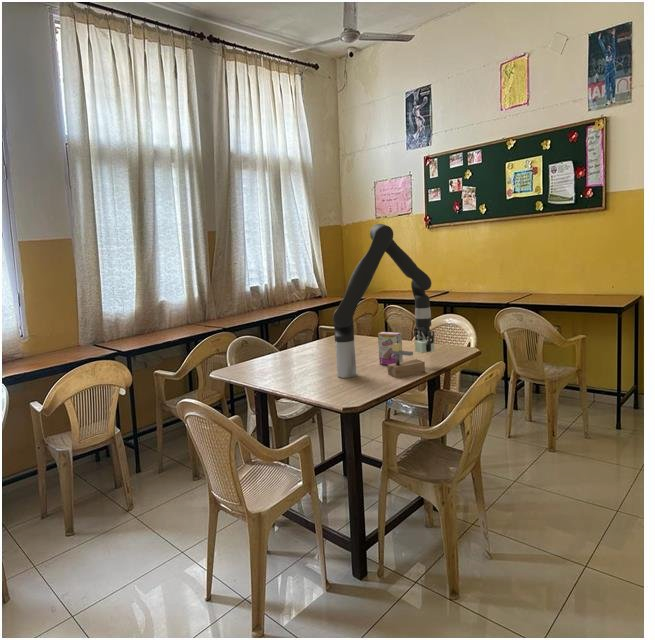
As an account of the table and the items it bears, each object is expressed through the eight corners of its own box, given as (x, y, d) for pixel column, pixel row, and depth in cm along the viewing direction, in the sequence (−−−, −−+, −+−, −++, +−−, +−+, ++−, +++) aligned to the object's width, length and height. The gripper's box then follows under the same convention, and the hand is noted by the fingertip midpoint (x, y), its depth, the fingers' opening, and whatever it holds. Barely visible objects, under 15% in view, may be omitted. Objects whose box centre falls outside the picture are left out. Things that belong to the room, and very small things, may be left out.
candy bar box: (379, 364, 259) (377, 333, 256) (383, 362, 263) (382, 331, 260) (399, 366, 252) (397, 334, 250) (403, 364, 256) (401, 332, 254)
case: (388, 374, 239) (387, 364, 238) (416, 369, 245) (416, 359, 245) (395, 378, 233) (395, 367, 232) (425, 372, 239) (424, 361, 238)
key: (393, 363, 239) (392, 342, 238) (413, 365, 232) (412, 344, 230) (391, 364, 238) (389, 343, 236) (411, 366, 230) (410, 345, 229)
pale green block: (415, 351, 249) (414, 341, 248) (427, 349, 252) (426, 339, 251) (422, 353, 244) (421, 343, 243) (434, 351, 246) (433, 341, 246)
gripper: (408, 316, 250) (410, 349, 253) (425, 319, 237) (426, 354, 240) (421, 314, 253) (422, 346, 256) (438, 317, 240) (440, 351, 243)
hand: (424, 350), depth 248 cm, fingers closed on pale green block, 6 cm apart
